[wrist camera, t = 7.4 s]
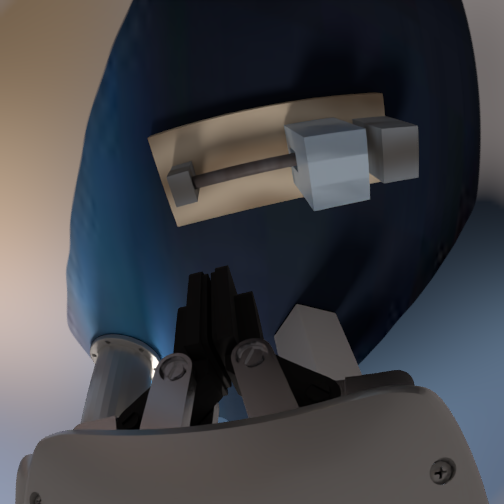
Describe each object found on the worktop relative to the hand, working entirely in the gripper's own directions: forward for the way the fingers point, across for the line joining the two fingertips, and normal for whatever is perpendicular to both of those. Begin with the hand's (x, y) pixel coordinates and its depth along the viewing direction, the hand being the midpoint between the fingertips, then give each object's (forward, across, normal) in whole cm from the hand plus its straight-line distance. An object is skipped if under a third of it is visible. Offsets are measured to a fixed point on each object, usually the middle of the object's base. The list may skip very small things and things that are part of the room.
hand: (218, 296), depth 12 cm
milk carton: (+20, -7, +25) cm, 33 cm away
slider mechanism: (+20, -7, -1) cm, 21 cm away
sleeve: (+17, -10, -1) cm, 20 cm away
